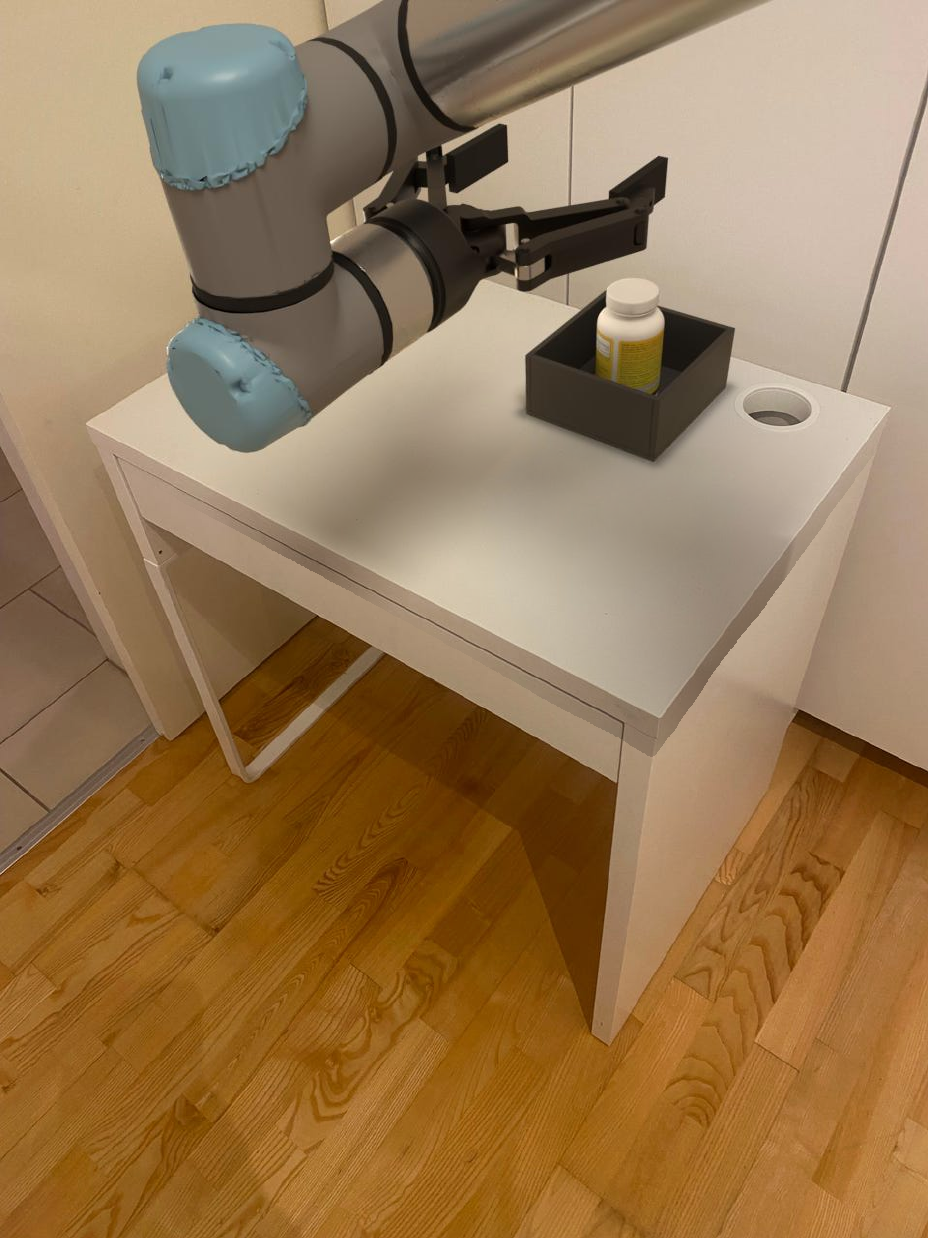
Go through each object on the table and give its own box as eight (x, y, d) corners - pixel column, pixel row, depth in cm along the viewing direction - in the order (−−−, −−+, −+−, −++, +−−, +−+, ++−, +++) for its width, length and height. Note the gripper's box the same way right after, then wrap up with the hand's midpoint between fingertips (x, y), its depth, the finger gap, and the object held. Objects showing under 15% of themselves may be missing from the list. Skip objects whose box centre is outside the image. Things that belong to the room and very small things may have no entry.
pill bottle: (668, 386, 94) (679, 281, 86) (641, 419, 91) (650, 313, 83) (611, 371, 97) (616, 267, 89) (583, 402, 93) (586, 297, 85)
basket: (726, 387, 94) (735, 327, 90) (653, 461, 87) (659, 401, 82) (602, 347, 101) (605, 289, 96) (525, 413, 94) (524, 354, 89)
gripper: (264, 289, 67) (449, 178, 78) (561, 393, 56) (729, 246, 67) (239, 180, 62) (441, 78, 73) (562, 271, 50) (744, 133, 61)
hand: (579, 158), depth 70 cm, fingers open, 13 cm apart
